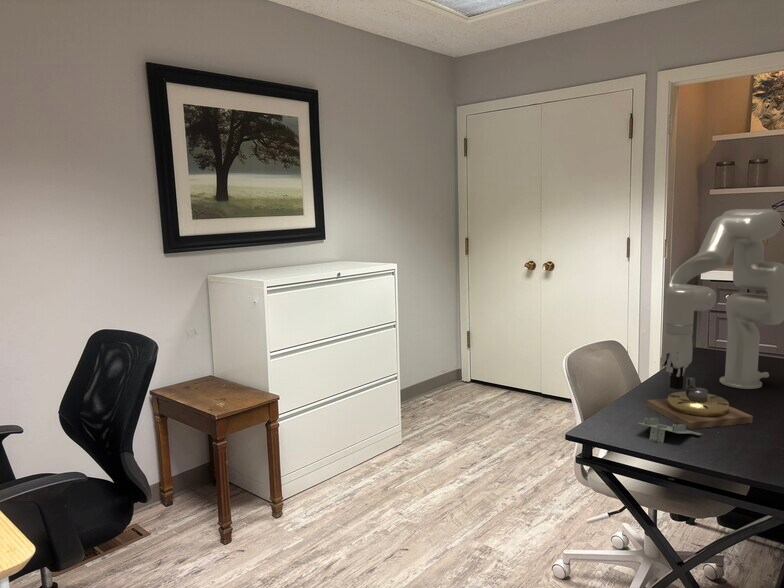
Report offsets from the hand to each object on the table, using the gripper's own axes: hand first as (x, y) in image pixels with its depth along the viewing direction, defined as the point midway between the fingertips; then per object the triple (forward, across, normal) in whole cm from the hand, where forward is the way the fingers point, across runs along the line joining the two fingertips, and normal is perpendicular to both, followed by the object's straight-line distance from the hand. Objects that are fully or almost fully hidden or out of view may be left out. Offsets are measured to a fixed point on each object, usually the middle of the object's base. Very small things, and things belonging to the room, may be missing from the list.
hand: (676, 388), depth 182 cm
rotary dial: (+4, 0, +7) cm, 8 cm away
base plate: (+6, 0, +7) cm, 9 cm away
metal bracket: (+7, +22, +9) cm, 24 cm away
